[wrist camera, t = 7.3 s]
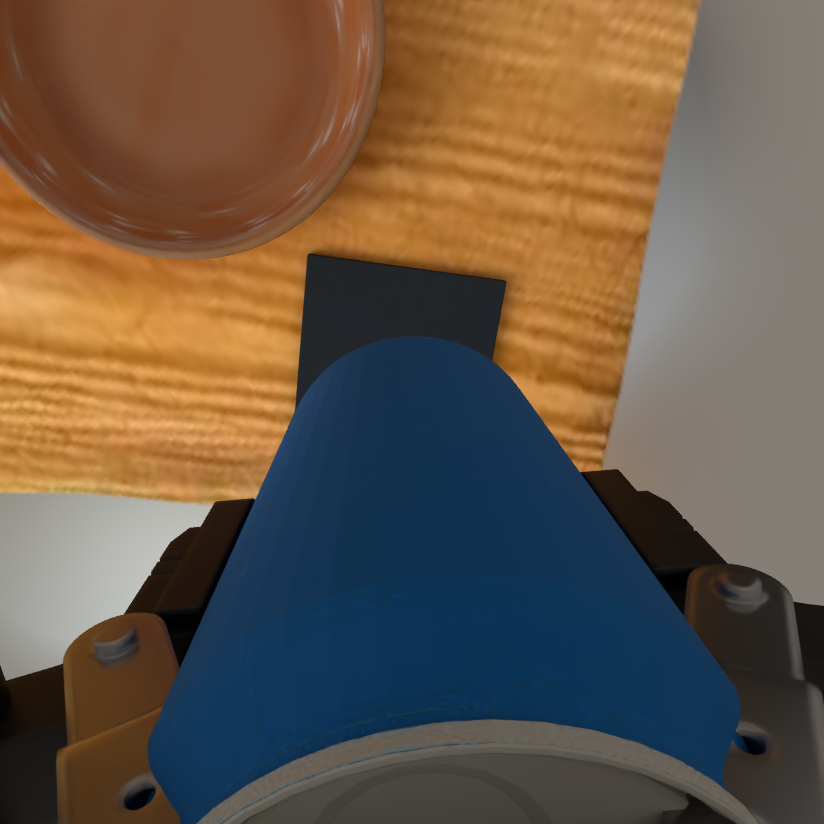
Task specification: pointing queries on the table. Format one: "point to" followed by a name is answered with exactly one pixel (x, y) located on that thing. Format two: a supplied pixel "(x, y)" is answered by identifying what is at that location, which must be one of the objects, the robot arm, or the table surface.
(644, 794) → the beverage can
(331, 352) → the coaster
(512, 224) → the table surface
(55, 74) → the saucer
